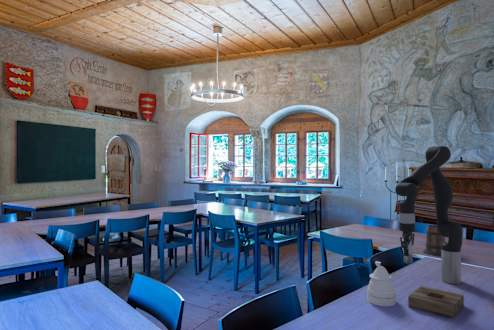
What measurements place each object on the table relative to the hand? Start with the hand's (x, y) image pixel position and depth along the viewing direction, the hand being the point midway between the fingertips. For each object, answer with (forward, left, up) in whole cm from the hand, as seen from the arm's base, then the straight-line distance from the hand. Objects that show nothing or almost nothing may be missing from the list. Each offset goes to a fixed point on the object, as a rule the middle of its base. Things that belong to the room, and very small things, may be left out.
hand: (407, 254), depth 176 cm
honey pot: (+21, -5, -19) cm, 29 cm away
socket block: (+11, +16, -19) cm, 27 cm away
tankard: (-94, -12, -19) cm, 97 cm away
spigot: (0, 0, -4) cm, 4 cm away
